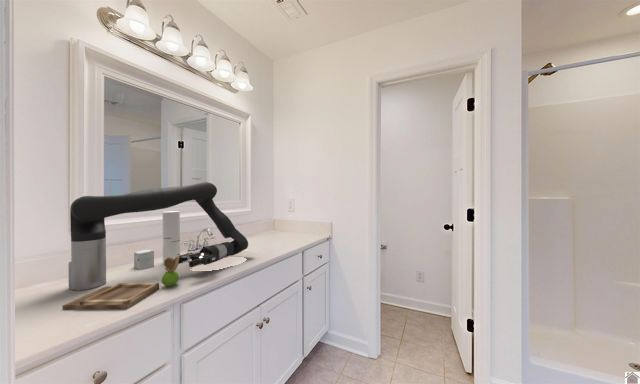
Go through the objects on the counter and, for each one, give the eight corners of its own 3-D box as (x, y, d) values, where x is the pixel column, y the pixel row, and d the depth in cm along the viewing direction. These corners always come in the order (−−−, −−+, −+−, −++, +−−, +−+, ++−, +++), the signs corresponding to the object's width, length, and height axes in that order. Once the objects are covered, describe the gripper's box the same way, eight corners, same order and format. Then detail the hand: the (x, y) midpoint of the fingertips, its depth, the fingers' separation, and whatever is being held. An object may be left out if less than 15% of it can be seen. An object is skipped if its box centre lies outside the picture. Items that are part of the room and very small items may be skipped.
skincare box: (133, 267, 109) (133, 251, 109) (149, 264, 114) (148, 248, 114) (139, 269, 105) (138, 253, 105) (154, 266, 110) (154, 250, 110)
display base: (62, 309, 70) (62, 302, 70) (105, 289, 84) (105, 283, 84) (127, 308, 70) (127, 301, 70) (159, 289, 84) (159, 282, 84)
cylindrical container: (165, 261, 118) (165, 211, 118) (181, 260, 120) (181, 210, 120) (160, 265, 111) (160, 212, 111) (178, 264, 113) (177, 212, 113)
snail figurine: (173, 289, 83) (172, 255, 83) (157, 288, 85) (157, 254, 85) (184, 283, 89) (184, 251, 89) (170, 282, 90) (170, 250, 90)
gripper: (201, 243, 108) (167, 252, 93) (226, 246, 103) (195, 255, 88) (201, 260, 108) (168, 271, 93) (226, 263, 103) (195, 275, 88)
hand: (181, 263), depth 91 cm, fingers open, 8 cm apart
